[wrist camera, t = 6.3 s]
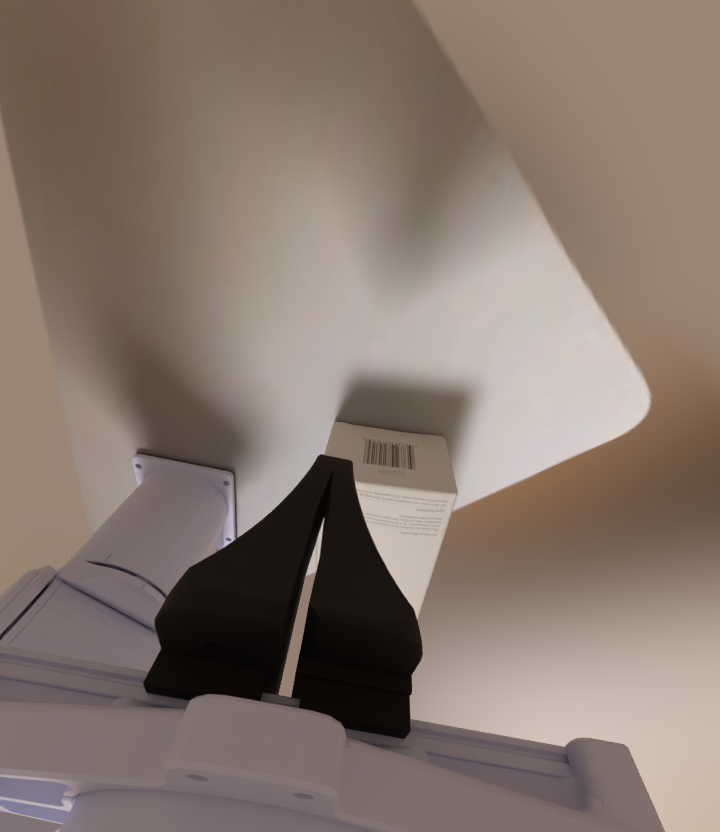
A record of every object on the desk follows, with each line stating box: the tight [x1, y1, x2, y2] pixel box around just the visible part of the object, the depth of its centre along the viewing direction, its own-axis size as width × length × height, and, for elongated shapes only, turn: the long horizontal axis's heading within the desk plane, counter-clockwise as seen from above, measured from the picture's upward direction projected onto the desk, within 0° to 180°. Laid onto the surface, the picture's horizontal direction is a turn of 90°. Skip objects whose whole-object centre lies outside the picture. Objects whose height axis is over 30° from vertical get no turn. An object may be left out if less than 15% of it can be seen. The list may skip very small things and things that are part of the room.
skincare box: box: [315, 422, 457, 619], centre depth 25 cm, size 8×6×15 cm
